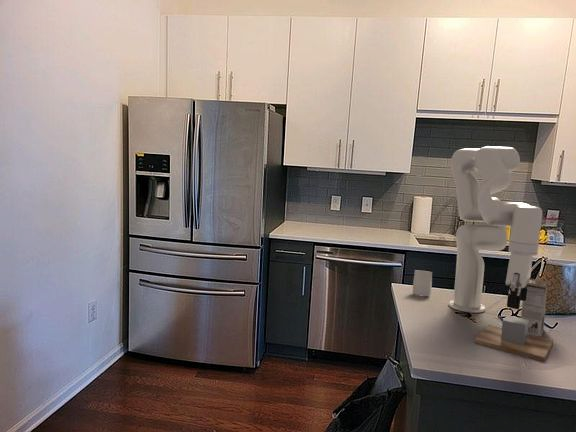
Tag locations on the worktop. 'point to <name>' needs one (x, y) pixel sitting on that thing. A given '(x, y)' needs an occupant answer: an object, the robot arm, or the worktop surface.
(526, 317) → the coffee box
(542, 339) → the dock
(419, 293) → the grey rectangular block
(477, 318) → the worktop surface
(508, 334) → the grey cube
